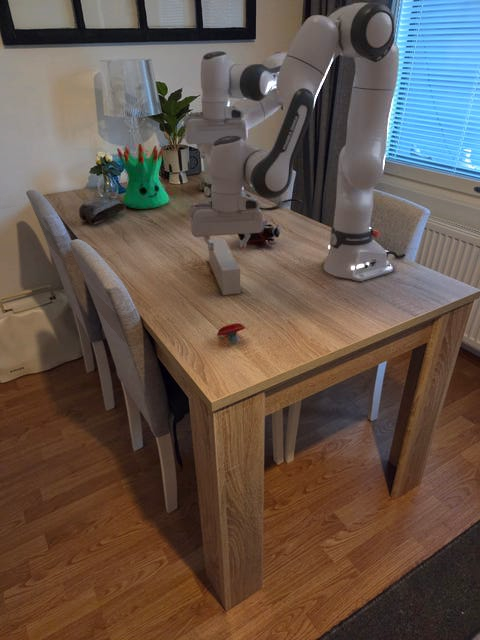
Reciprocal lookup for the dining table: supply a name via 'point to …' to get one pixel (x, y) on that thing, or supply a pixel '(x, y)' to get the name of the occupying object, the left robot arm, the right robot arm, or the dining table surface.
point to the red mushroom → (231, 331)
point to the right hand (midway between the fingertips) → (227, 248)
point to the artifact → (202, 184)
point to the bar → (224, 267)
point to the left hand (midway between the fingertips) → (216, 157)
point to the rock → (100, 209)
